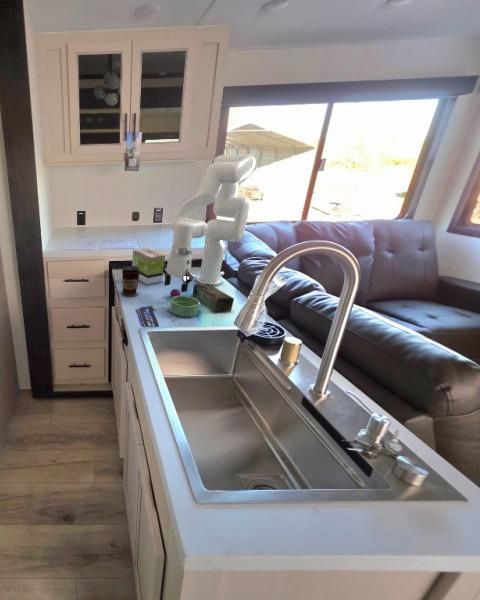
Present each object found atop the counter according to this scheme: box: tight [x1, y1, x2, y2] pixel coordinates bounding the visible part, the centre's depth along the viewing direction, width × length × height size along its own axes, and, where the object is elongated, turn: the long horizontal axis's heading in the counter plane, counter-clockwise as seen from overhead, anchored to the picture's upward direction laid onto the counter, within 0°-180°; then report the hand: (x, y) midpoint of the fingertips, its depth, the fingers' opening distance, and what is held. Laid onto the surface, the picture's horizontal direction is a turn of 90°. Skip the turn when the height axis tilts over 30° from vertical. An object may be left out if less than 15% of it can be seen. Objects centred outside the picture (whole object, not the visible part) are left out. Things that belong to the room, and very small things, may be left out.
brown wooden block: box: [191, 282, 235, 313], centre depth 137 cm, size 8×19×7 cm, turn 11°
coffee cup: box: [121, 265, 140, 297], centre depth 146 cm, size 9×8×13 cm
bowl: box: [169, 295, 201, 318], centre depth 129 cm, size 11×11×5 cm
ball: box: [169, 288, 181, 298], centre depth 143 cm, size 4×4×4 cm
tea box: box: [131, 247, 166, 286], centre depth 164 cm, size 15×10×15 cm, turn 25°
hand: (175, 288), depth 141 cm, fingers open, 9 cm apart
